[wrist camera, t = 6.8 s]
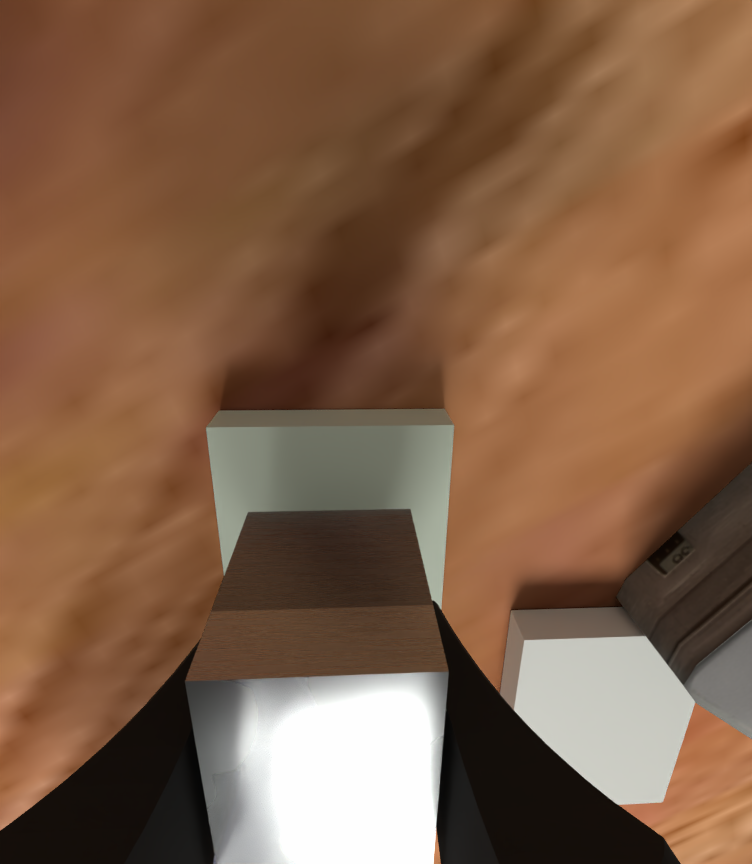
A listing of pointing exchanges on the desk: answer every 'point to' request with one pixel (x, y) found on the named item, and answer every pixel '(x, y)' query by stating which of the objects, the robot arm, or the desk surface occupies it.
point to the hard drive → (704, 603)
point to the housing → (321, 693)
